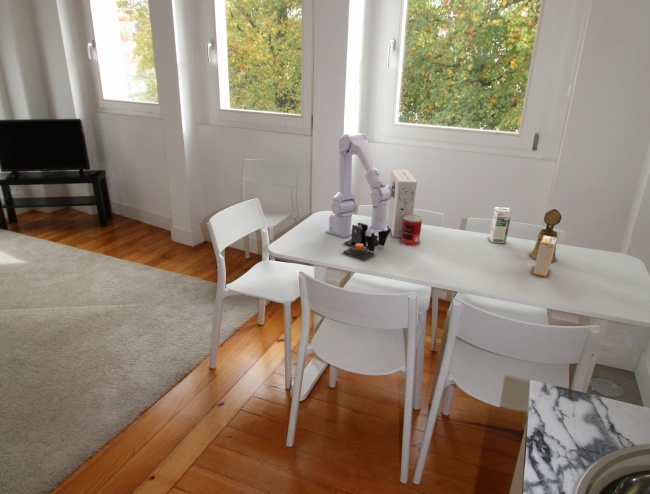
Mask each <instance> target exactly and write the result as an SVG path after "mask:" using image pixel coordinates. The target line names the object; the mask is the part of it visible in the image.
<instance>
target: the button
mask: <svg viewBox="0 0 650 494" xmlns="http://www.w3.org/2000/svg"><path fill="white" fill-rule="evenodd" d="M355 249H357V250H363V244H361V243H357V244H355Z"/></svg>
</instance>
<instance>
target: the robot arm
mask: <svg viewBox="0 0 650 494" xmlns="http://www.w3.org/2000/svg"><path fill="white" fill-rule="evenodd" d="M338 140H339V141H338V192H337V193H336V194H335V195H334V196H333V197H332V203H331V214H330V215H329V219H328V222H329V223H328V231H327V233H329V234H332V235H335V236H338V237H341V238H347V237H349V236H352V219H353V217H352V216H353V215H354V212H356V210H357V201H356V195H354V194H353V193H352V179H353V177H352V172H353V171H352V170H353V156H354V155H355V156H357V157H358V159H359V161H360V162H361V164H362V166H363V168H364V170H365V174H364V177H365V179H366V181H367V183H368V185H369V188H370V191H371V192H369V193H370V194H369V195H370V200H371V206H372V213H371V224H370V226H369V227H368V230H367V231H366V233H365V234H364V236H365V238H366V240H367V244H368V248H367V250H368V251H370V252H373V253H374V251H375V249H376V246H375V244H376V241H377V240H378V241H379V245H378V246H380V247H384V246H385V244H386V242H387V239H388V237H389V235H390V233H391V229H390V228H389V227H390V223H389V222H387V221H386V220H387V209H388V200H389V199H391V197H392V190H391V187H390V185H389V184H388V183H386V182H385V181H384V179H383V176H382V174H381V171H380V170H379V168H376V167H375V166H374V162H373V159H372V157H371V155H370V151H369V149H368V147H369V140H368V138H367V135H366V134H365V133H364V132H359V133H350V134H346V133H345V134H344V133H343V135H341V137H339V139H338ZM376 233H378V235H376Z"/></svg>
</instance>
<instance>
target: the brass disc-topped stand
mask: <svg viewBox="0 0 650 494" xmlns="http://www.w3.org/2000/svg"><path fill="white" fill-rule="evenodd" d="M561 220H562V214H561V212H560V211H558V210H557V209H556V208H553V209H550V210H548V211H547V212H546V213H545V214H544V218H543V222H544V224H546V227H545V228H542V229H541V230H540V232H538V234H537V240H536V242H535V245H534V246H533V249H532V252H531V254H530V255H531V257H532V258H533V259H534V260H536V259H537V255H538V251H539V246H540V242H541V240H542V238H543V236H550V237H555V238H557V240H558V237H559V236H558V231H556V230H554V227H555V226H556V225H557V226H558V224H560V223H561ZM557 240H556V242H558V241H557ZM556 251H557V244H556V245H555V249H554V253H553V257H552V260H551V263H553V262H555V261H556V257H557V254H556Z"/></svg>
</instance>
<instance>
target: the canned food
mask: <svg viewBox="0 0 650 494" xmlns="http://www.w3.org/2000/svg"><path fill="white" fill-rule="evenodd" d="M422 222H423V218H422V216H420V215H417V214H413V215H405V216H404V218H403V227H402V236H401V237H400V241H401V243H402V244H404V245H408V246H415V245H418V244H419V243H420V238H421V231H422V224H423V223H422Z"/></svg>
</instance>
